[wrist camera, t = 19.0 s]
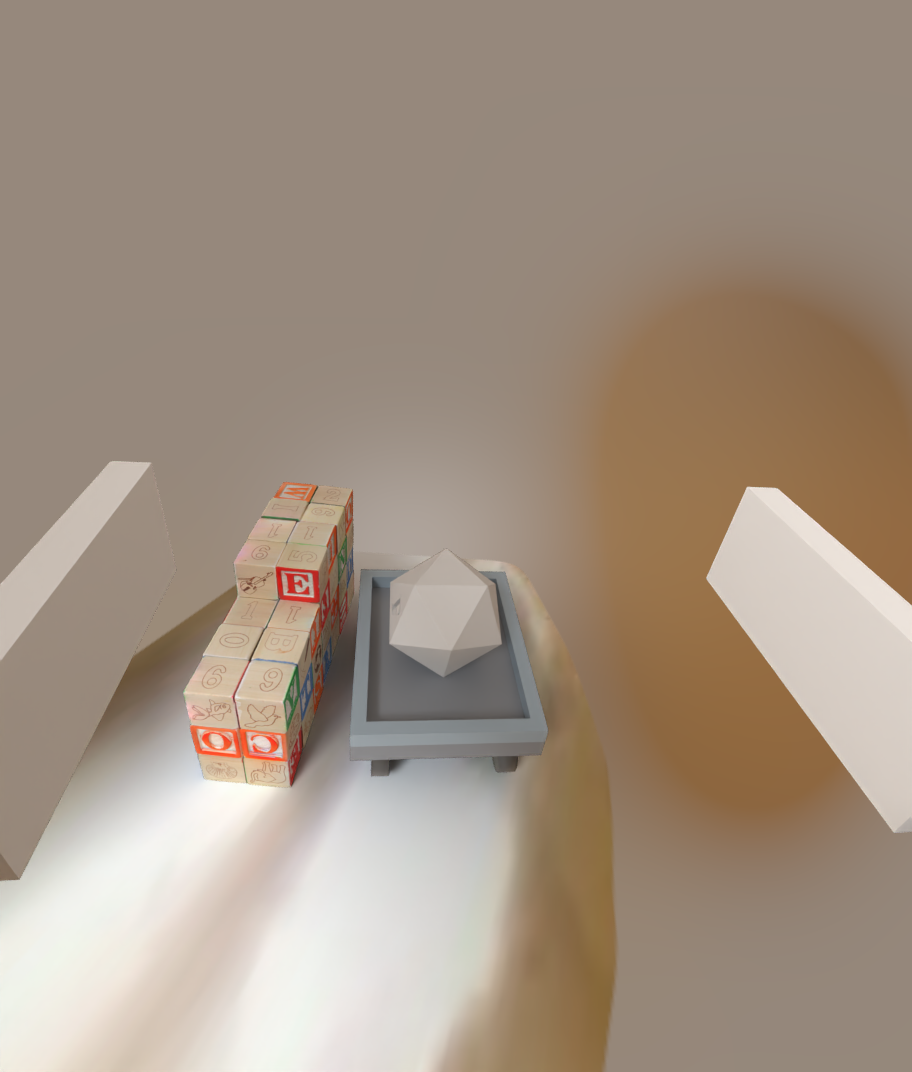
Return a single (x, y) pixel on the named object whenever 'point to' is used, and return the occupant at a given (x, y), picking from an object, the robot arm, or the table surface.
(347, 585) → the stack of blocks
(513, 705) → the trolley
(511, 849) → the table surface
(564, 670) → the table surface
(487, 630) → the die
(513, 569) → the table surface
